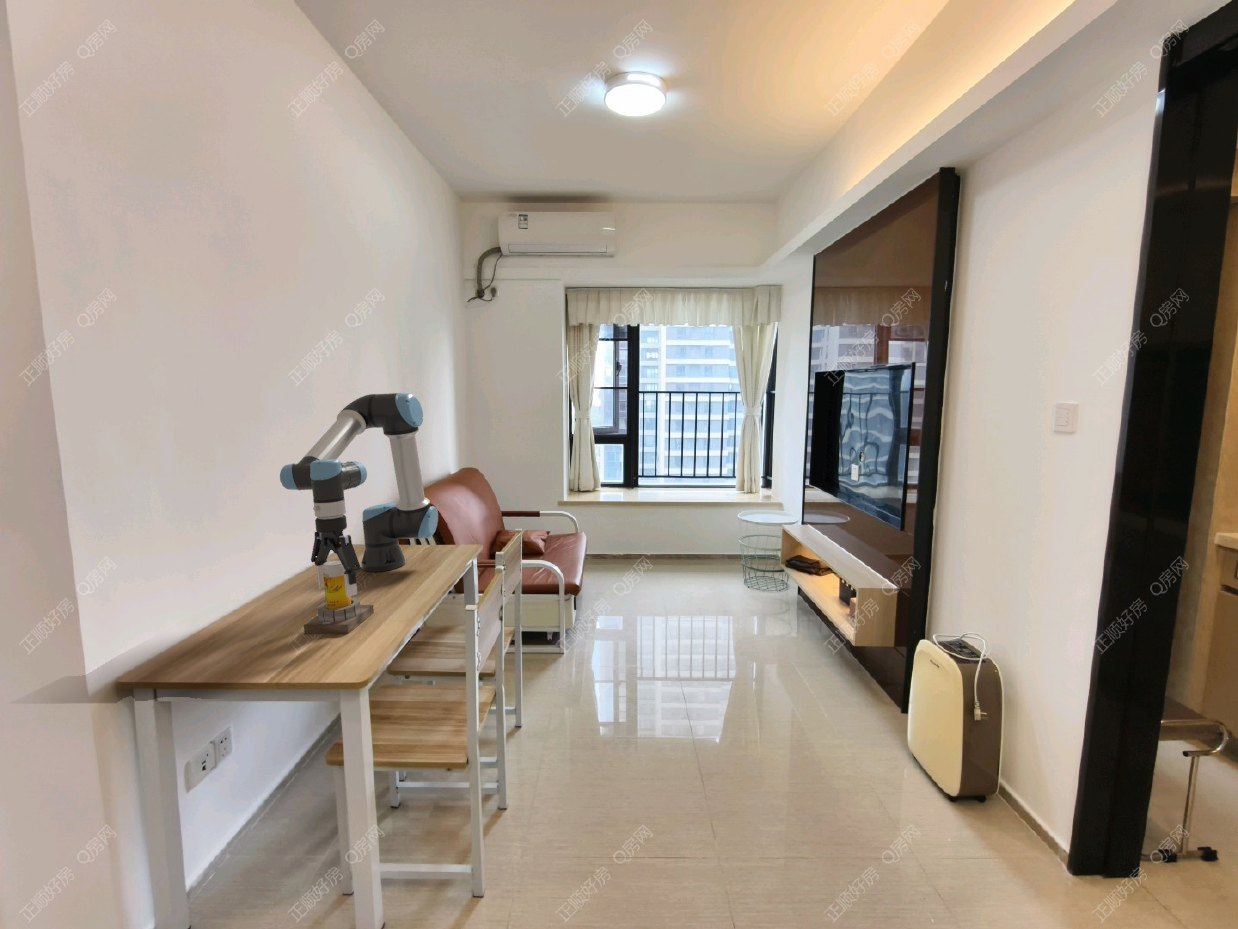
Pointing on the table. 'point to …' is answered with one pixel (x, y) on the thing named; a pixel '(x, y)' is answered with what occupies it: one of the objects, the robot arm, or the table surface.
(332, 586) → the beer can
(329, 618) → the cup holder
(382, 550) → the robot arm
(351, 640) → the table surface
